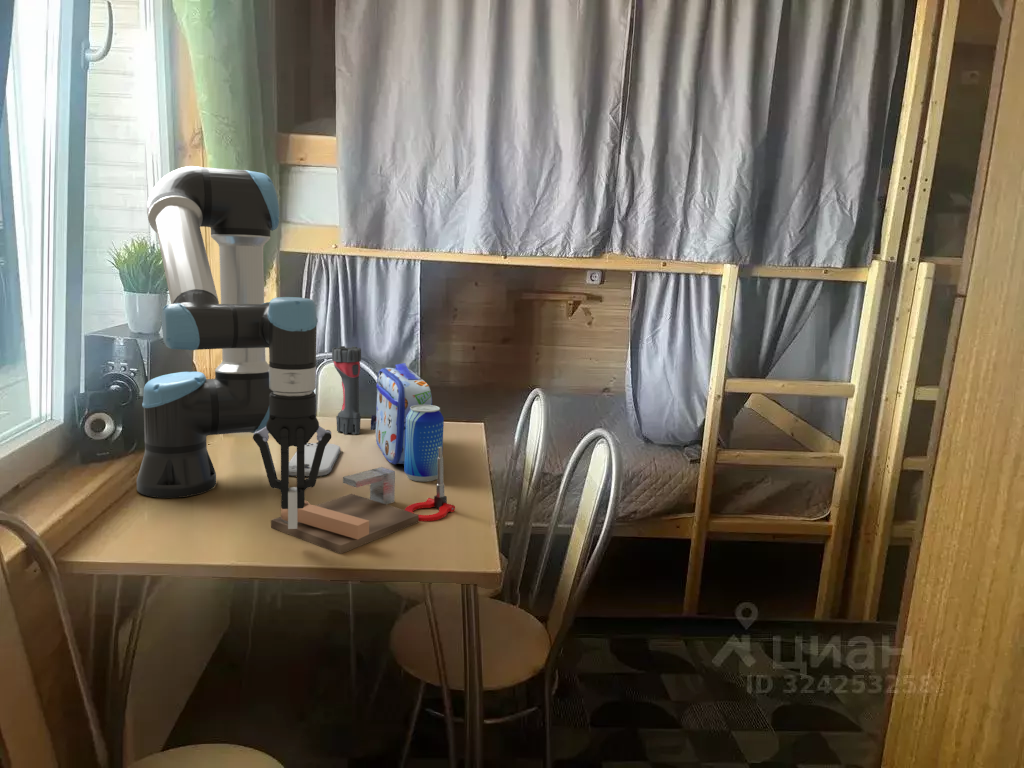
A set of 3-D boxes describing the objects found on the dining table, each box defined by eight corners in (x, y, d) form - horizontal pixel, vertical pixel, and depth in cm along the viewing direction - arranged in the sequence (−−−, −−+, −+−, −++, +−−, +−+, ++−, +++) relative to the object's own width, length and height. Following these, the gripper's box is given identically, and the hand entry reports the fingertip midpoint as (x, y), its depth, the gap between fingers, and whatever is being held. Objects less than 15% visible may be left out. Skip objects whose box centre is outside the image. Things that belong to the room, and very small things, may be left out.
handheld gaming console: (328, 468, 173) (281, 466, 172) (328, 480, 174) (281, 478, 173) (342, 440, 196) (301, 439, 195) (342, 451, 196) (301, 450, 195)
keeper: (355, 513, 153) (356, 481, 152) (342, 508, 155) (343, 476, 154) (394, 502, 161) (395, 471, 159) (381, 497, 163) (381, 466, 162)
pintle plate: (271, 527, 144) (271, 517, 143) (351, 500, 160) (351, 491, 160) (340, 553, 134) (340, 543, 134) (418, 522, 150) (418, 512, 150)
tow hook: (427, 527, 149) (459, 512, 157) (426, 462, 147) (459, 450, 154) (395, 516, 154) (427, 502, 162) (394, 453, 151) (427, 442, 159)
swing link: (275, 517, 143) (275, 499, 143) (295, 510, 147) (295, 492, 147) (354, 541, 135) (354, 521, 134) (372, 532, 139) (372, 513, 138)
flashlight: (333, 427, 217) (333, 344, 213) (361, 428, 218) (363, 345, 213) (329, 434, 209) (330, 349, 205) (359, 435, 210) (360, 350, 206)
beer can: (425, 469, 184) (428, 402, 181) (449, 478, 178) (451, 409, 175) (396, 475, 178) (398, 406, 175) (419, 485, 172) (422, 413, 169)
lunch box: (367, 441, 204) (368, 358, 200) (406, 439, 208) (408, 357, 204) (391, 473, 179) (393, 378, 175) (435, 470, 183) (438, 377, 179)
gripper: (249, 395, 126) (251, 535, 130) (333, 396, 129) (332, 532, 133) (253, 386, 133) (254, 519, 137) (332, 387, 136) (331, 516, 140)
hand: (292, 525), depth 135 cm, fingers closed
